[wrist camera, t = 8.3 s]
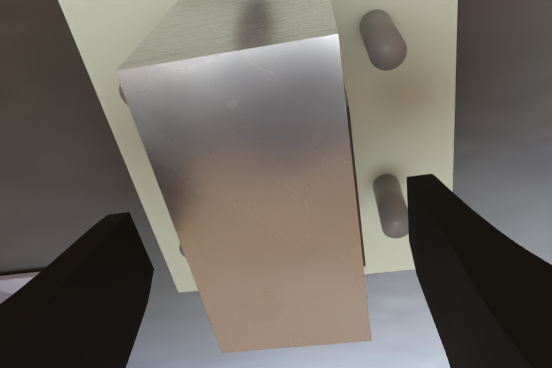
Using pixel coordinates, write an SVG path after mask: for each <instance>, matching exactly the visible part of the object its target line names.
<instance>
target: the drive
mask: <svg viewBox="0 0 552 368" xmlns="http://www.w3.org/2000/svg"><path fill="white" fill-rule="evenodd" d="M115 72H116V74H117V77H118V80H119V82H120V85H121V88H122V90H123V93H124V95H125V98H126V101H127V103H128V106H129V109H130V111H131V114H132V117H133V119H134V122H135V125H136V127H137V130H138V132H139V135H140V138H141V140H142V143H143V146H144V148H145V151H146V154H147V156H148V159H149V161H150V164H151V167H152V169H153V172H154V175H155V177H156V180H157V183H158V185H159V188H160V191H161V193H162V196H163V198H164V201H165V204H166V206H167V209H168V212H169V214H170V217H171V220H172V222H173V225H174V228H175V230H176V233H177V235H178V238H179V241H180V243H181V246H182V249H183V251H184V254H185V257H186V259H187V262H188V265H189V267H190V270H191V272H192V275H193V278H194V280H195V283H196V286H197V288H198V291H199V294H200V296H201V299H202V302H203V304H204V307H205V309H206V312H207V315H208V317H209V320H210V323H211V325H212V328H213V331H214V333H215V336H216V339H217V341H218V344H219V346H220V349H221V352H222V353H225V352H237V351H250V350H262V349H274V348H287V347H299V346H311V345H324V344H336V343H348V342H361V341H372V340H371V331H370V322H369V313H368V304H367V294H366V285H365V276H364V267H363V266H366V263H365V254H364V244H363V235H362V225H361V216H360V206H359V197H358V187H357V178H356V168H355V159H354V149H353V139H352V130H351V120H350V111H349V104H348V99H347V94H346V89H345V84H344V79H343V73H342V64H341V55H340V46H339V37H338V31H337V26H336V22H335V17H334V13H333V9H332V4H331V0H181V1H178V2H177V3H176V4H175V5H174V6H173V7H172V8H171V10H170V11H169V12H168V13H167V14H166V15H165V16H164V17H163V18H162V20H161V21H160V22H159V23H158V24H157V25H156V26H155V27H154V29H153V30H152V31H151V32H150V33H149V34H148V35H147V36H146V37H145V39H144V40H143V41H142V42H141V43H140V44H139V45H138V46H137V47H136V49H135V50H134V51H133V52H132V53H131V54H130V55H129V56H128V57H127V59H126V60H125V61H124V62H123V63H122V64H121V65H120V66H119V67H118V69H117V70H116V71H115Z"/></svg>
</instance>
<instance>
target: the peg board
mask: <svg viewBox="0 0 552 368" xmlns="http://www.w3.org/2000/svg"><path fill="white" fill-rule="evenodd" d="M58 1H59V3H60V6H61V8H62V10H63V13H64V15H65V18H66V20H67V23H68V25H69V27H70V30H71V32H72V35H73V37H74V40H75V42H76V44H77V47H78V49H79V52H80V54H81V57H82V59H83V61H84V64H85V66H86V69H87V71H88V74H89V76H90V78H91V81H92V83H93V86H94V88H95V91H96V93H97V95H98V98H99V100H100V103H101V105H102V108H103V110H104V113H105V115H106V117H107V120H108V122H109V125H110V127H111V130H112V132H113V134H114V137H115V139H116V142H117V144H118V147H119V149H120V151H121V154H122V156H123V159H124V161H125V164H126V166H127V168H128V171H129V173H130V176H131V178H132V181H133V183H134V185H135V188H136V190H137V193H138V195H139V198H140V200H141V202H142V205H143V207H144V210H145V212H146V215H147V217H148V219H149V222H150V224H151V227H152V229H153V232H154V234H155V236H156V239H157V241H158V244H159V246H160V249H161V251H162V254H163V256H164V258H165V261H166V263H167V266H168V268H169V271H170V273H171V275H172V278H173V280H174V283H175V285H176V288H177V290H178V292H179V293H180V292H190V291H198V288H197V286H196V283H195V280H194V278H193V275H192V272H191V270H190V267H189V265H188V262H187V259H186V257H185V254H184V251H183V249H182V246H181V243H180V241H179V238H178V235H177V233H176V230H175V228H174V225H173V222H172V220H171V217H170V214H169V212H168V209H167V206H166V204H165V201H164V198H163V196H162V193H161V191H160V188H159V185H158V183H157V180H156V177H155V175H154V172H153V169H152V167H151V164H150V161H149V159H148V156H147V154H146V151H145V148H144V146H143V143H142V140H141V138H140V135H139V132H138V130H137V127H136V125H135V122H134V119H133V117H132V114H131V111H130V109H129V106H128V103H127V101H126V98H125V95H124V93H123V90H122V88H121V85H120V82H119V80H118V77H117V74H116V72H115V71H116V70H117V69H118V67H119V66H120V65H121V64H122V63H123V62H124V61H125V60H126V59H127V57H128V56H129V55H130V54H131V53H132V52H133V51H134V50H135V49H136V47H137V46H138V45H139V44H140V43H141V42H142V41H143V40H144V39H145V37H146V36H147V35H148V34H149V33H150V32H151V31H152V30H153V29H154V27H155V26H156V25H157V24H158V23H159V22H160V21H161V20H162V18H163V17H164V16H165V15H166V14H167V13H168V12H169V11H170V10H171V8H172V7H173V6H174V5H175V4H176V3H177V2H178V1H181V0H58ZM331 4H332V9H333V13H334V17H335V22H336V26H337V31H338V37H339V46H340V55H341V64H342V73H343V79H344V84H345V89H346V94H347V99H348V104H349V111H350V120H351V130H352V139H353V149H354V159H355V168H356V178H357V187H358V197H359V206H360V216H361V225H362V235H363V244H364V254H365V263H366V266H363V267H364V274H372V273H382V272H392V271H402V270H412V269H415V265H414V261H413V257H412V252H411V248H410V243H409V231H408V204H407V177H409V176H417V175H425V174H433V175H434V176H436V177H437V178H438V179H439V180H440V181H441V182H442V183H443V184H444V185H445V186H447V187H448V188H449V189H450V190H451V191H452V192H453V156H454V119H455V81H456V43H457V6H458V0H331Z"/></svg>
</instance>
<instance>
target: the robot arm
mask: <svg viewBox="0 0 552 368" xmlns="http://www.w3.org/2000/svg"><path fill="white" fill-rule="evenodd" d="M407 204H408V231H409V243H410V248H411V252H412V257H413V261H414V265H415V269H416V273H417V277H418V279H419V282H420V285H421V288H422V290H423V293H424V296H425V299H426V301H427V304H428V307H429V309H430V312H431V315H432V317H433V320H434V323H435V325H436V328H437V331H438V333H439V336H440V339H441V341H442V344H443V347H444V349H445V352H446V355H447V358H448V361H449V364H450V367H451V368H552V265H551V264H549V263H548V262H546V261H544V260H543V259H541V258H539V257H538V256H536V255H534V254H533V253H531V252H529V251H528V250H526V249H524V248H523V247H521V246H520V245H518V244H517V243H515V242H514V241H513V240H511V239H510V238H508V237H507V236H506V235H504V234H503V233H501V232H500V231H499V230H497V229H496V228H495V227H493V226H492V225H491V224H490V223H488V222H487V221H486V220H485V219H483V218H482V217H481V216H480V215H478V214H477V213H476V212H475V211H474V210H472V209H471V208H470V207H469V206H468V205H467V204H465V203H464V202H463V201H462V200H461V199H460V198H459V197H457V196H456V195H455V194H454V193H453V192H452V191H451V190H450V189H449V188H448V187H447V186H445V185H444V184H443V183H442V182H441V181H440V180H439V179H438V178H437V177H436V176H434V175H433V174H425V175H417V176H409V177H407ZM153 271H154V268H153V266H152V263H151V261H150V259H149V256H148V254H147V252H146V250H145V247H144V245H143V243H142V240H141V238H140V236H139V233H138V231H137V229H136V226H135V224H134V222H133V219H132V217H131V215H130V213H129V212H127V213H119V214H111V215H107V216H106V217H104V218H103V219H102V220H100V221H99V222H98V223H97V224H95V225H94V226H93V227H92V228H91V229H89V230H88V231H87V232H86V233H85V234H84V235H83V236H81V237H80V238H79V239H78V240H77V241H76V242H75V243H73V244H72V245H71V246H70V247H69V248H68V249H67V250H65V251H64V252H63V253H62V254H61V255H60V256H59V257H57V258H56V259H55V260H54V261H53V262H52V263H51V264H49V265H48V266H47V267H46V268H45V269H43V270H42V271H41V272H32V273H23V274H14V275H5V276H0V368H126V365H127V362H128V359H129V356H130V353H131V351H132V348H133V345H134V342H135V339H136V336H137V333H138V330H139V327H140V324H141V321H142V318H143V315H144V312H145V309H146V306H147V303H148V298H149V294H150V289H151V283H152V277H153Z"/></svg>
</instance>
